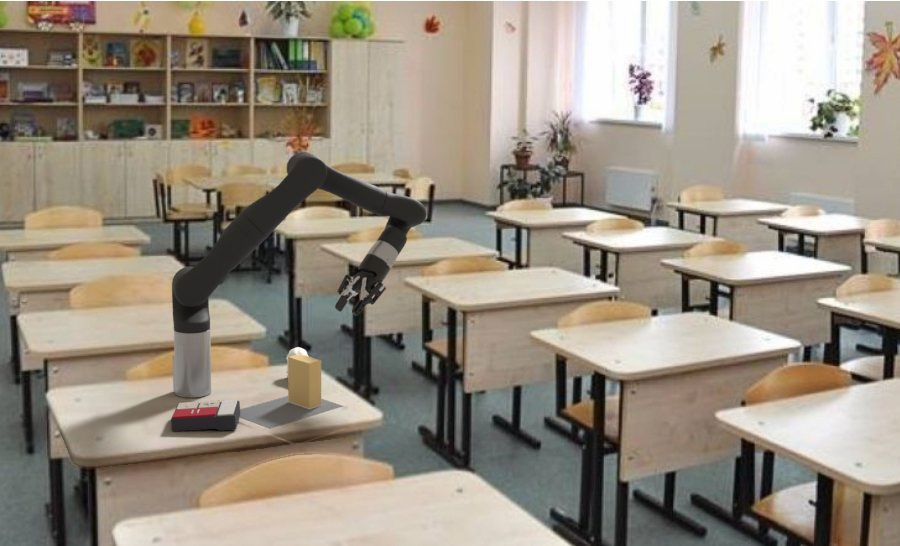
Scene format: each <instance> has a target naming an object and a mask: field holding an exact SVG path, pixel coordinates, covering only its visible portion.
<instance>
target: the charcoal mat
mask: <svg viewBox="0 0 900 546" xmlns="http://www.w3.org/2000/svg"><path fill="white" fill-rule="evenodd" d="M342 407H343V405H342V404H339V403H335V402H333V401H330V400H327V399H324V398H321V406H319V407H316V408H312V409H307V408H304V407H301V406H298V405H295V404H292V403H290V402H288V395H286V396H283V397H279V398H276V399H272V400H268V401H264V402H262V403H261V402H260V403H258V404H254V405H251V406H247V407H244V408H240V417H239V419H240V418H241V419H243V420H246V421H249V422H250V423H254V424H257V425H259V426H262V427H265V428H266V429H267V428H268V429H273V428H276V427H279V426H283V425H286V424H290V423H293V422H296V421H299V420H303V419H306V418H309V417H312V416H315V415H319V414H322V413H326V412H329V411H331V410H335V409H339V408H342Z"/></svg>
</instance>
